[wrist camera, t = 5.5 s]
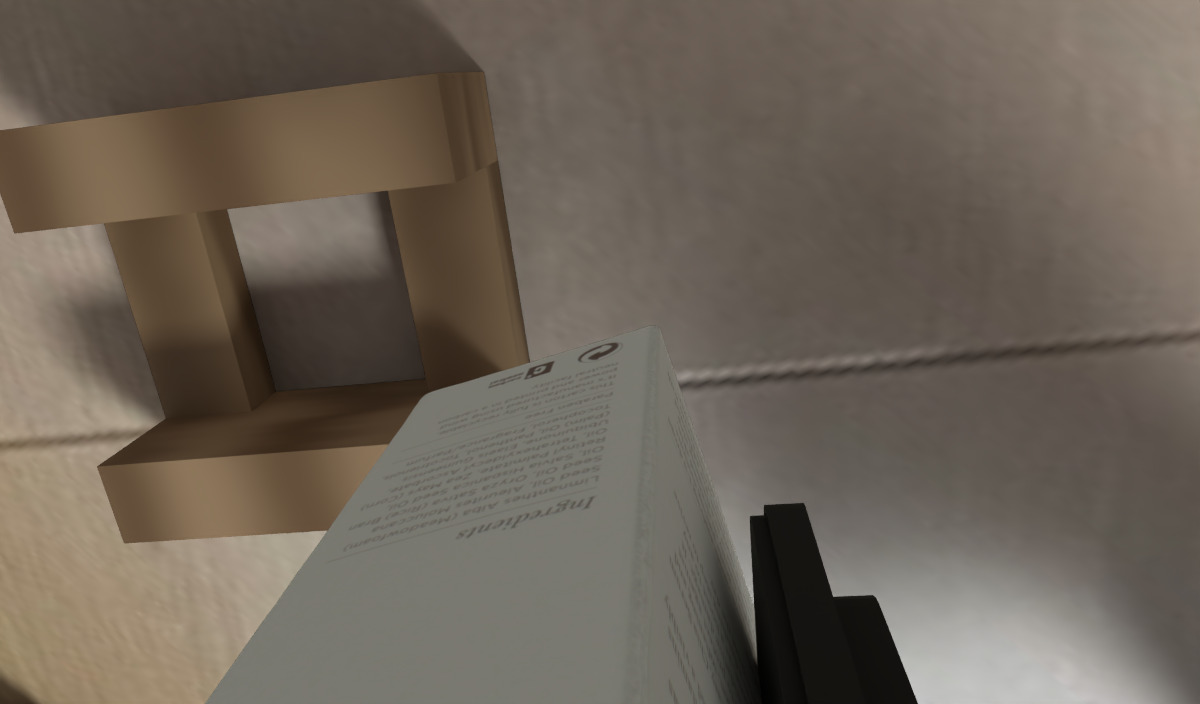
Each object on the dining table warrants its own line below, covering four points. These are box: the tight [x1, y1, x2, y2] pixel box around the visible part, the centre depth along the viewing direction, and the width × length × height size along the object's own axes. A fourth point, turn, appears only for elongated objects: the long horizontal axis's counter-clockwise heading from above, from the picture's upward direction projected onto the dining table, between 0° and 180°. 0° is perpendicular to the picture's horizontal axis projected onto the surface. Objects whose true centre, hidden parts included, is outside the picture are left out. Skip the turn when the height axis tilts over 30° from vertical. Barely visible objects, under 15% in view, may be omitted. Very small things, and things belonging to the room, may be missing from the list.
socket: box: [0, 72, 530, 543], centre depth 28 cm, size 14×14×6 cm
